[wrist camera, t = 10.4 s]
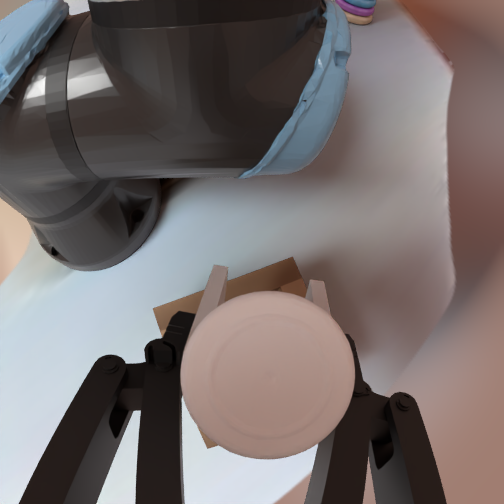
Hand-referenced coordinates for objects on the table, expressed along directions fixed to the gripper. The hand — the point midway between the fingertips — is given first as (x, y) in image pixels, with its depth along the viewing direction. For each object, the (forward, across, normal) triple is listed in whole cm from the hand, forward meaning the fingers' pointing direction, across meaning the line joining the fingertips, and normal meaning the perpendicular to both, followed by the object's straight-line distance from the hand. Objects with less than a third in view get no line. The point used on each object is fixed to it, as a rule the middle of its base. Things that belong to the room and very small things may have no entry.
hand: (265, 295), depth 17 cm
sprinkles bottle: (0, 0, -6) cm, 6 cm away
